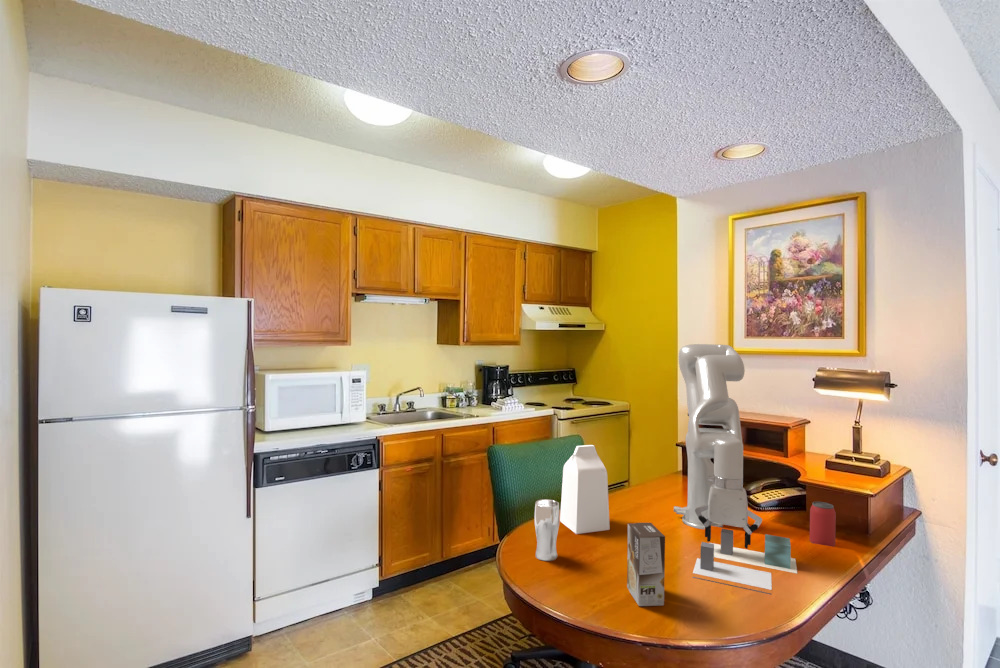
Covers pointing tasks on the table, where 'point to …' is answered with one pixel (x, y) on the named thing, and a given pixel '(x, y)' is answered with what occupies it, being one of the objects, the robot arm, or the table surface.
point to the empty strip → (729, 571)
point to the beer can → (822, 524)
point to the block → (777, 551)
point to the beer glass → (546, 528)
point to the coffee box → (646, 564)
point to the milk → (585, 492)
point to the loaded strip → (744, 553)
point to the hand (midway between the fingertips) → (727, 543)
